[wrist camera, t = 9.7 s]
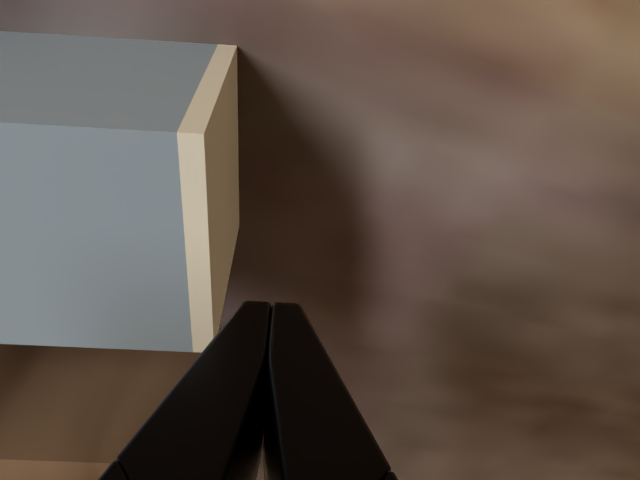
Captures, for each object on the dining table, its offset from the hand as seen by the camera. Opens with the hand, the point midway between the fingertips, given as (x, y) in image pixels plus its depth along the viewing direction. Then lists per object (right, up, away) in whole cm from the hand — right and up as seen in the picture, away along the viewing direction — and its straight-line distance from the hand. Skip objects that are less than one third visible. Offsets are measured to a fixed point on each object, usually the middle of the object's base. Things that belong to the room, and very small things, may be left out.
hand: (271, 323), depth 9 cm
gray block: (-1, +2, +3) cm, 4 cm away
